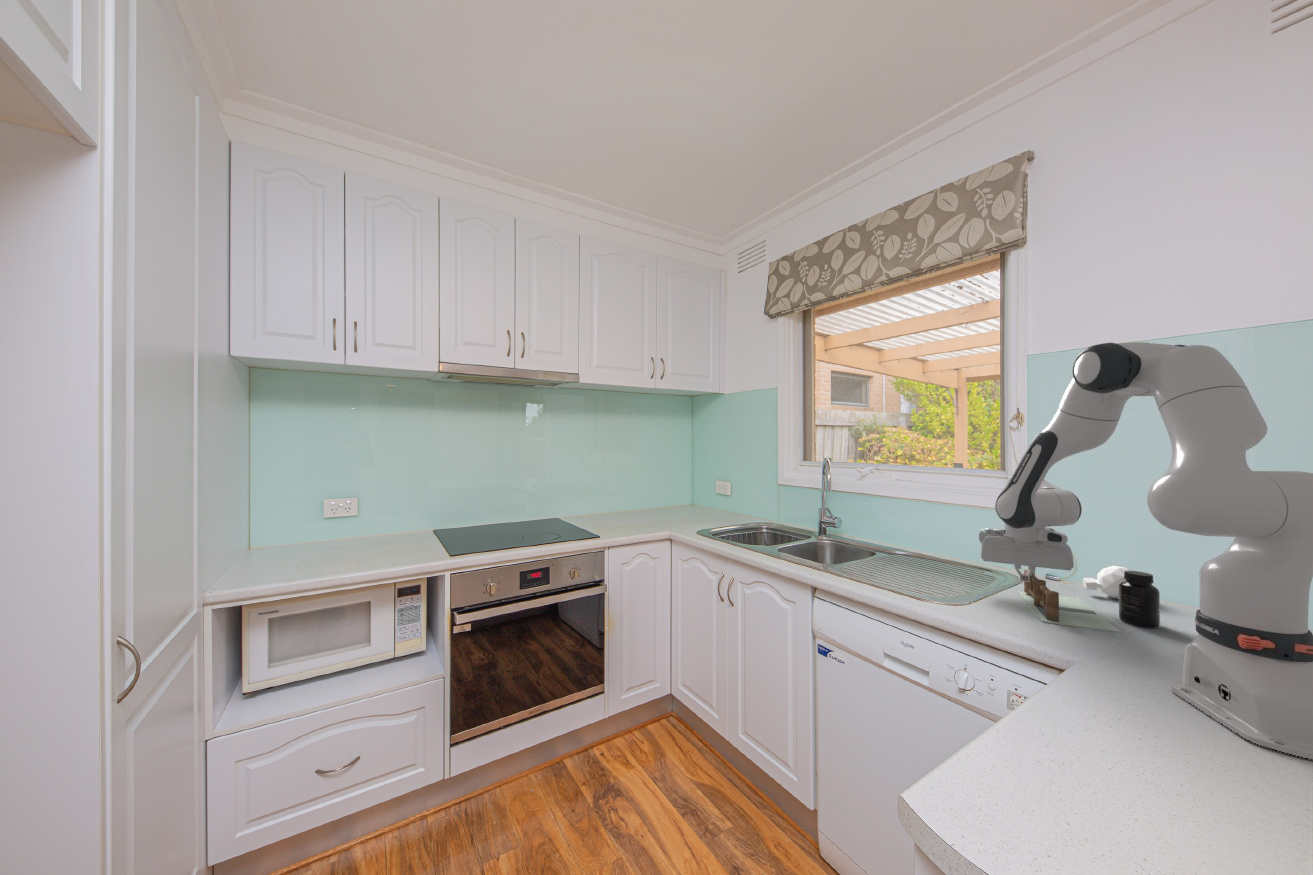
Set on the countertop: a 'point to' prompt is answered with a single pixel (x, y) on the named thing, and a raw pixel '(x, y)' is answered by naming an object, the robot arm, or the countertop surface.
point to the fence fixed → (1046, 600)
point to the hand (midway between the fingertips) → (1024, 581)
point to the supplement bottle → (1139, 600)
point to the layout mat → (1071, 613)
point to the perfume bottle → (1107, 581)
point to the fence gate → (1029, 584)
